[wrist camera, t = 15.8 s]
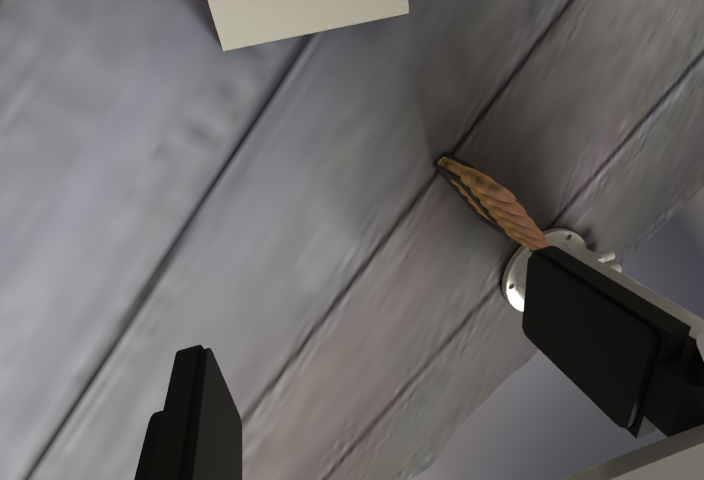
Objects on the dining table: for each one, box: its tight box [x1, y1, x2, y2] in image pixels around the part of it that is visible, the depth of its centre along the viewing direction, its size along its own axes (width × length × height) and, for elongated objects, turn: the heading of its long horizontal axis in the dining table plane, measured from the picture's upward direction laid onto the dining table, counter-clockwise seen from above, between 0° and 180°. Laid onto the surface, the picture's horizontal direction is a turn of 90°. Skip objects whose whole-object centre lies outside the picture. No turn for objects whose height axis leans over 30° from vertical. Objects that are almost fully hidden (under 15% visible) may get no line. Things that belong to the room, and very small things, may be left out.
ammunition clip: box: [432, 152, 552, 251], centre depth 37 cm, size 11×2×12 cm, turn 44°
